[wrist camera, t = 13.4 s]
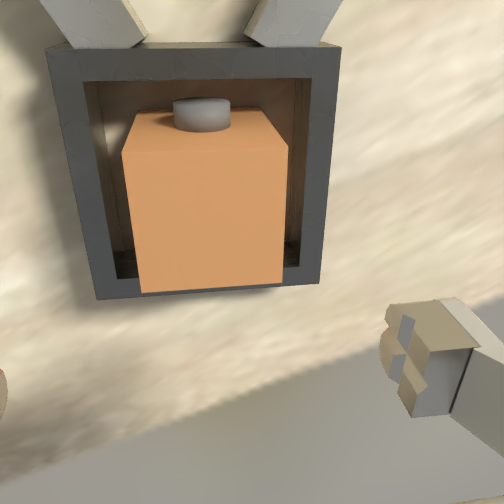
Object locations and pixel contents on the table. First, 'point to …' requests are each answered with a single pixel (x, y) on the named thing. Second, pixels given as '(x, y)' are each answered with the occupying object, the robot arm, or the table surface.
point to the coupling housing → (193, 68)
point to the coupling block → (206, 195)
